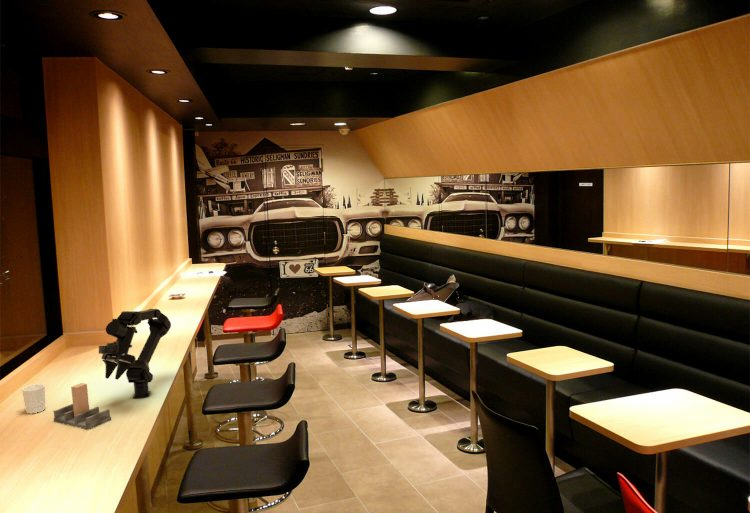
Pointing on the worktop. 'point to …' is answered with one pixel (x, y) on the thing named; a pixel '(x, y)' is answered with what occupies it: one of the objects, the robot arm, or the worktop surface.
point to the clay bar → (80, 398)
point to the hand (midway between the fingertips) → (111, 378)
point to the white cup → (34, 398)
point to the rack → (82, 417)
